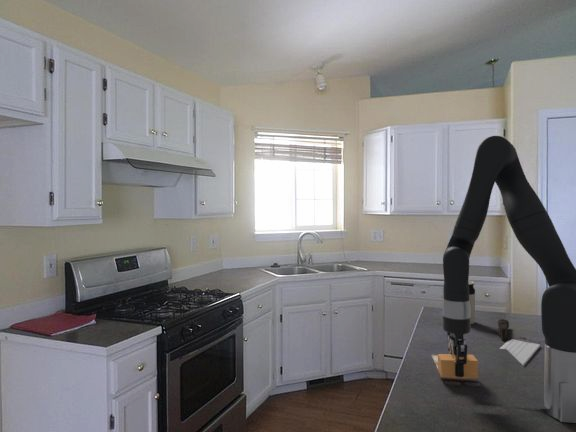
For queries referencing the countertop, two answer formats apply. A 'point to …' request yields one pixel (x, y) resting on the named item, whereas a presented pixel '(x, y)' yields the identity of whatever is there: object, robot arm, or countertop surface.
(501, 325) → the brown pointed piece
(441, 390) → the countertop surface
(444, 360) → the block
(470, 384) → the charcoal stick
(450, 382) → the charcoal stick
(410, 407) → the countertop surface
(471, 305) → the travel mug
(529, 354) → the baseboard
